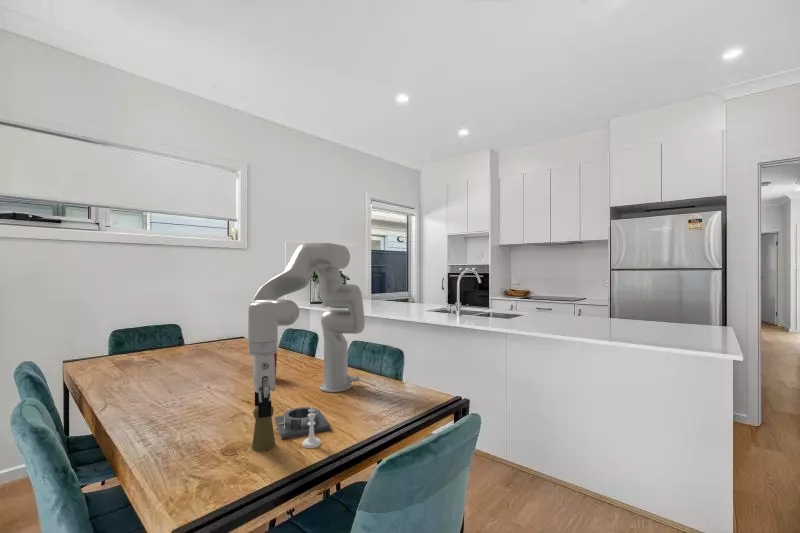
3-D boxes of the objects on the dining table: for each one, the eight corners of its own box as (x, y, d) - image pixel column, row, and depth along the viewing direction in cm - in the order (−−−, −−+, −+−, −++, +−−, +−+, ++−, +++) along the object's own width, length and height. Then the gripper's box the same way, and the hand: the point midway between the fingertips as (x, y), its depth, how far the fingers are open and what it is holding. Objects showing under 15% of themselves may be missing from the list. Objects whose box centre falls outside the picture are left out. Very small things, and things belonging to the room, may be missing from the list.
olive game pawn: (267, 452, 100) (267, 410, 100) (247, 450, 102) (247, 408, 102) (279, 442, 106) (279, 402, 106) (259, 440, 108) (259, 401, 108)
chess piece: (304, 440, 107) (303, 404, 107) (321, 439, 108) (321, 404, 108) (300, 448, 102) (300, 411, 102) (319, 447, 103) (319, 410, 103)
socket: (318, 414, 127) (318, 402, 127) (330, 430, 114) (330, 417, 114) (274, 421, 121) (274, 409, 121) (281, 439, 108) (281, 425, 108)
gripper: (282, 351, 98) (281, 419, 97) (273, 341, 113) (272, 399, 113) (250, 354, 95) (250, 424, 94) (246, 343, 110) (245, 403, 110)
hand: (262, 410), depth 104 cm, fingers open, 9 cm apart
